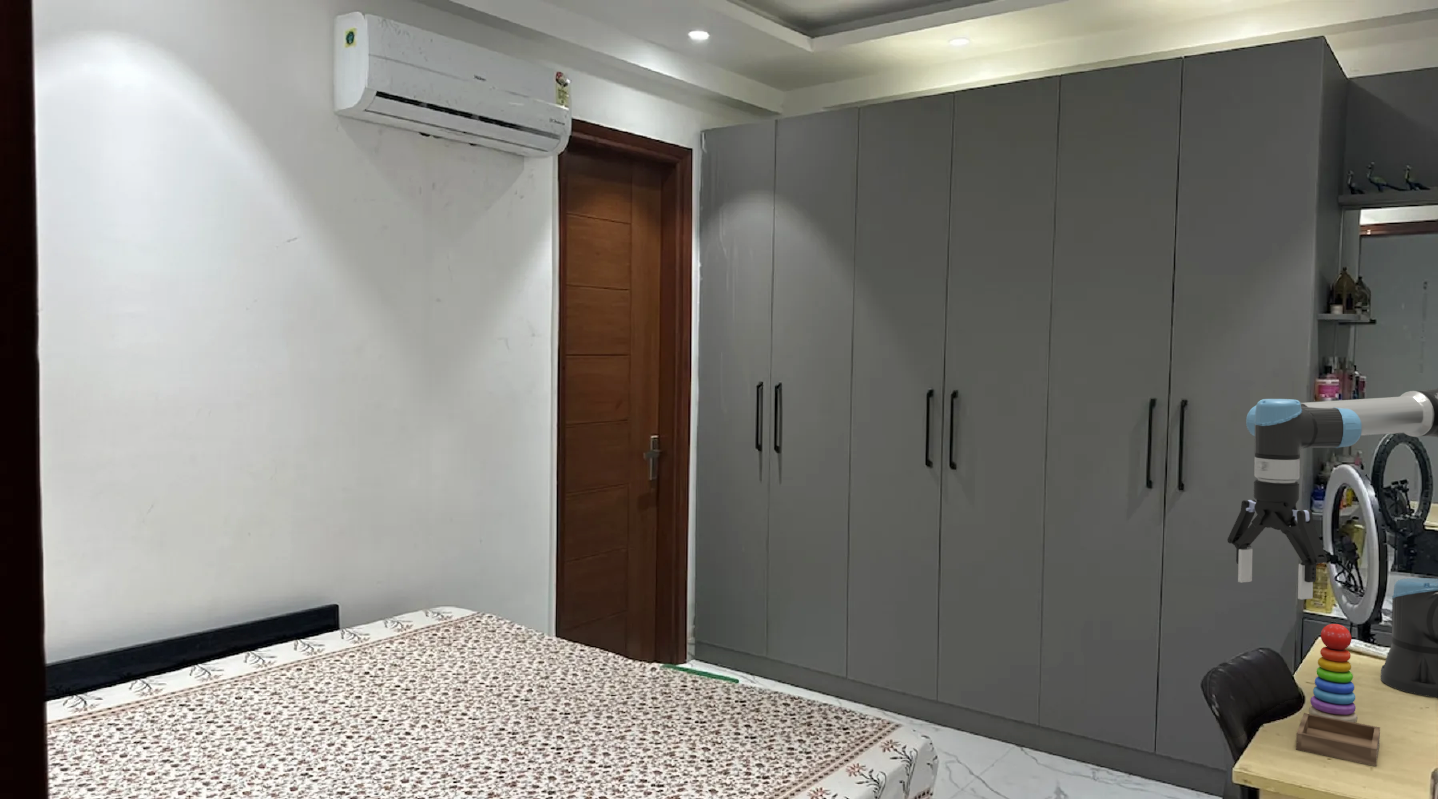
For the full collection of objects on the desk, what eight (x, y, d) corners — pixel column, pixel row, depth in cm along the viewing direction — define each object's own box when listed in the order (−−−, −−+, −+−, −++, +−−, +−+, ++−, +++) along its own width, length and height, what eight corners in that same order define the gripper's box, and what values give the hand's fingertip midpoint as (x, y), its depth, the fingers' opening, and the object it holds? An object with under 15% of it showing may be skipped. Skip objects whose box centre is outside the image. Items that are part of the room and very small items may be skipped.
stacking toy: (1364, 728, 185) (1368, 631, 184) (1318, 725, 187) (1321, 629, 186) (1346, 713, 193) (1349, 620, 192) (1302, 710, 195) (1305, 618, 194)
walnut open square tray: (1303, 728, 186) (1304, 712, 185) (1379, 743, 178) (1380, 727, 178) (1296, 749, 176) (1296, 733, 176) (1375, 766, 169) (1376, 749, 169)
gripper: (1209, 472, 196) (1207, 576, 197) (1319, 490, 172) (1316, 608, 174) (1238, 471, 198) (1236, 573, 200) (1351, 487, 175) (1348, 604, 176)
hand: (1274, 590), depth 187 cm, fingers open, 13 cm apart
